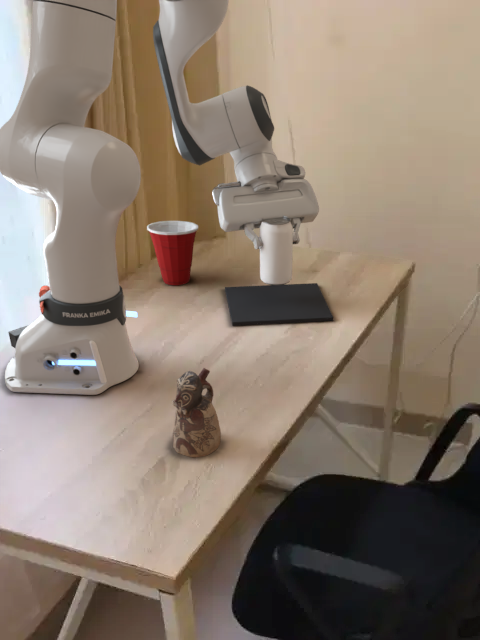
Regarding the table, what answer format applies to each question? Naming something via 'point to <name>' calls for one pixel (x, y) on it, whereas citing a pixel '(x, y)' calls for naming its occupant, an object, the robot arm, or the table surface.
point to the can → (276, 251)
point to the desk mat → (277, 304)
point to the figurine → (195, 416)
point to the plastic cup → (174, 249)
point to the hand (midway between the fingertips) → (277, 245)
